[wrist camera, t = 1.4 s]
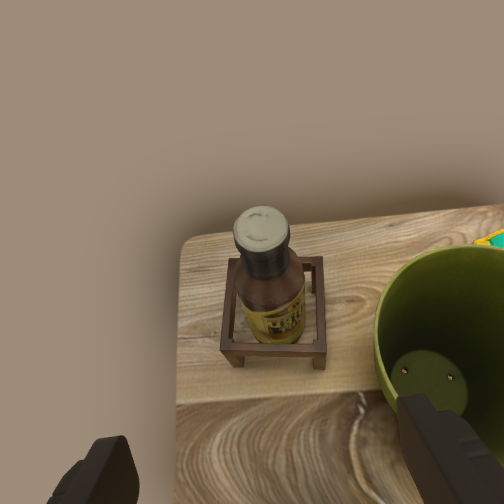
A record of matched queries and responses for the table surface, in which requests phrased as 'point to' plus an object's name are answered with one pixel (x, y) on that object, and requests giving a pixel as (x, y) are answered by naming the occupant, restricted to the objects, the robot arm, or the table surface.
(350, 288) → the table surface
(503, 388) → the flower pot
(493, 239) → the toy car
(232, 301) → the open square stand
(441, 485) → the robot arm
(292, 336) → the sauce bottle
